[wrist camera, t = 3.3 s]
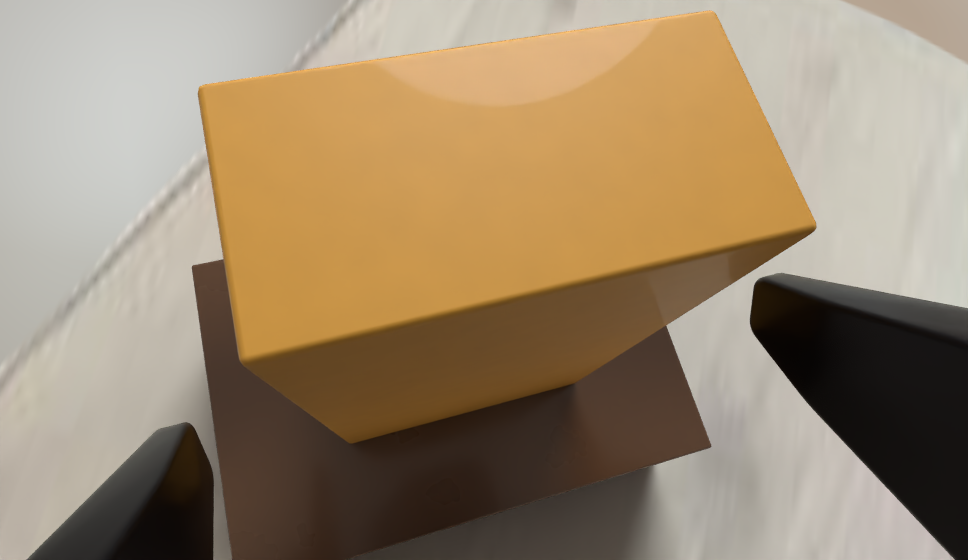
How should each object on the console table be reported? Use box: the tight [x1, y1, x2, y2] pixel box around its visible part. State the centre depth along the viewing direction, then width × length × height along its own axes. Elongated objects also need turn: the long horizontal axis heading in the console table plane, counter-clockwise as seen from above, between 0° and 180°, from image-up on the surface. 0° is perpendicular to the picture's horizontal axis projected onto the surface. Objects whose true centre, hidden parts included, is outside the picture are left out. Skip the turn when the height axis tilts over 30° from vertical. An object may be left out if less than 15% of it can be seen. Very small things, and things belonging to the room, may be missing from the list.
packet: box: [198, 11, 816, 444], centre depth 11 cm, size 3×6×10 cm, turn 106°
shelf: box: [192, 259, 711, 560], centre depth 17 cm, size 8×12×4 cm, turn 106°
